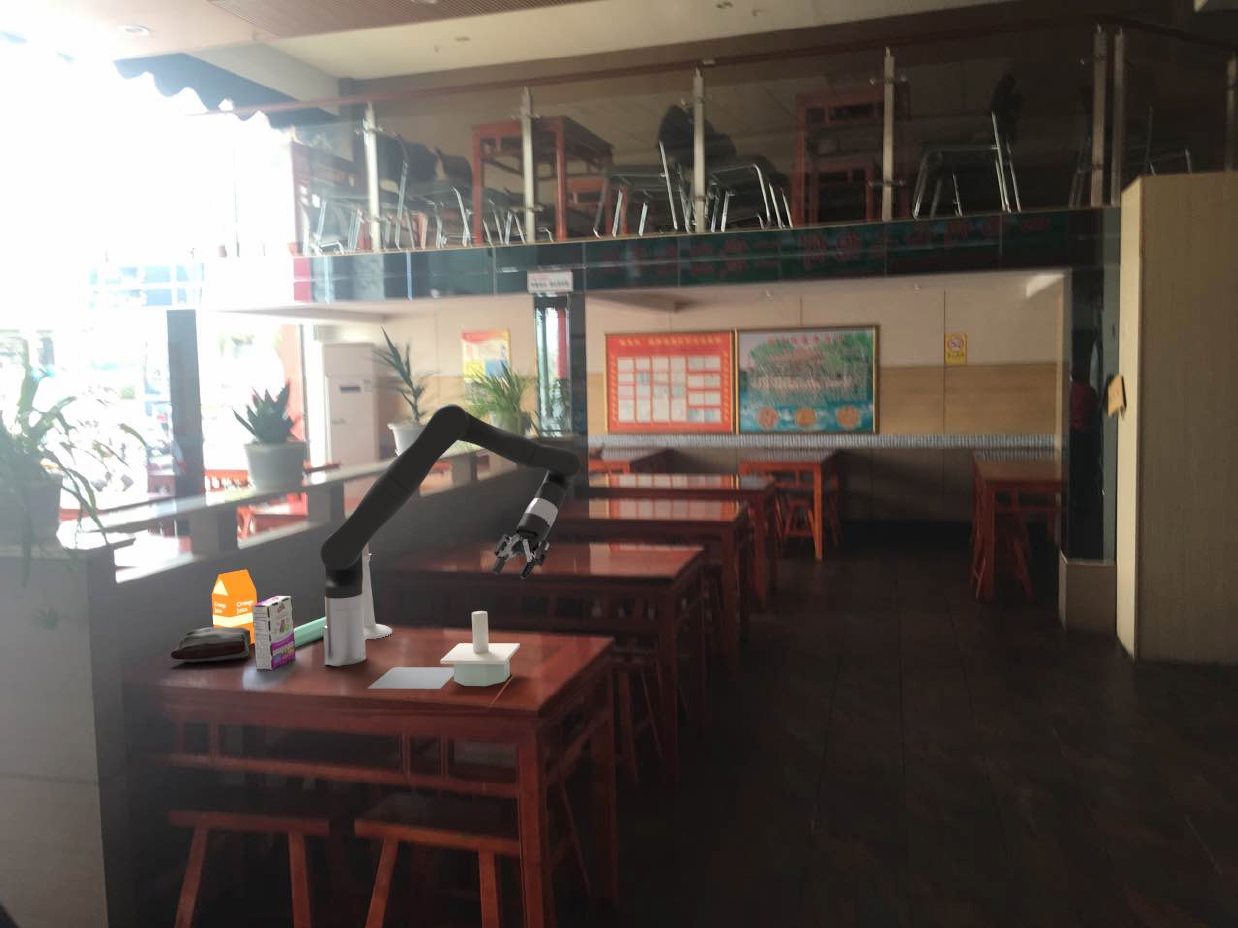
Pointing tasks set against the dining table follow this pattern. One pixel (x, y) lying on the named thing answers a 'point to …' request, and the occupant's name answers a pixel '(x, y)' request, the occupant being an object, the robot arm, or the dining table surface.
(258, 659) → the candy bar box
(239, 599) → the orange juice
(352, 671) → the dining table surface
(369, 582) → the candlestick
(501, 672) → the bowl
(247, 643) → the dark pillow-shaped pouch
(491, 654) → the cover
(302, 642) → the container
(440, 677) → the mat
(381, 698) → the dining table surface
